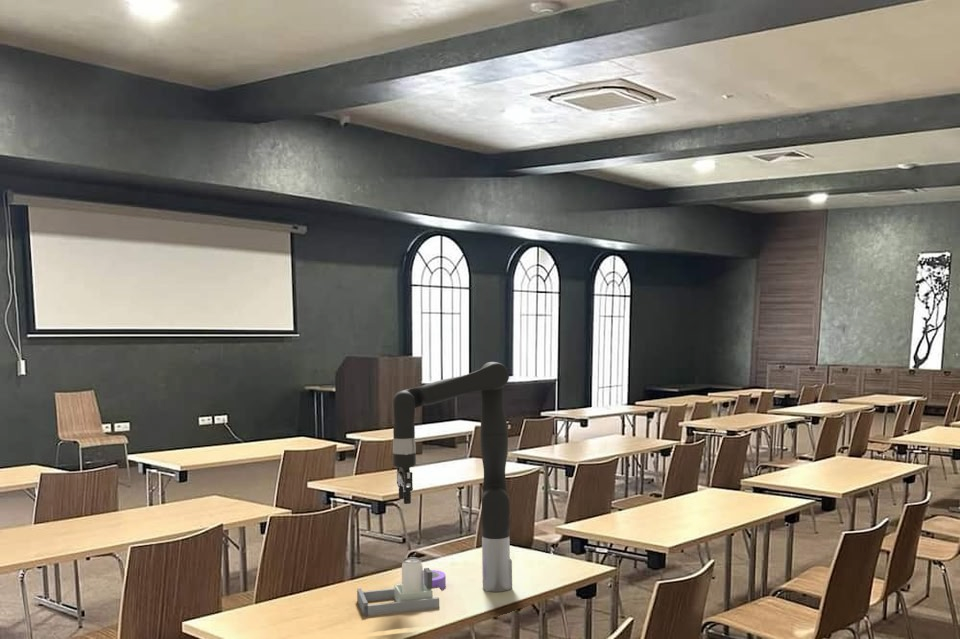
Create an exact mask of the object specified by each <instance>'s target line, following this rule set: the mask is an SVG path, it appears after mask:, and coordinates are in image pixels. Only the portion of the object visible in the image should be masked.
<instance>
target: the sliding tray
mask: <svg viewBox="0 0 960 639" xmlns="http://www.w3.org/2000/svg"><path fill="white" fill-rule="evenodd" d="M423 570H424V582H423V592H414V593H405V594H402V583H400V584H398V583H397V584H394V586H393V588H394V589H395V598H394V602H399V601H408V600H417V599H426V598H434V595H433V590H432V589H433V587H432V571H431V570H432V569H430V568H429V567H426V568H425V567H424V568H423Z"/></svg>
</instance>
